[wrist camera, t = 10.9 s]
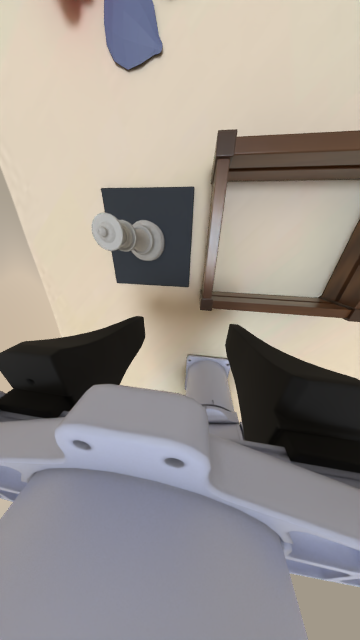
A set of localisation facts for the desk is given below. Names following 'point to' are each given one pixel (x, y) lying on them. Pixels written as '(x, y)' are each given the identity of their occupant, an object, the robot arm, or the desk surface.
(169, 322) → the desk surface
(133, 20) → the toy pieces
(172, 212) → the mat
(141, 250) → the chess piece
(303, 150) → the crate
